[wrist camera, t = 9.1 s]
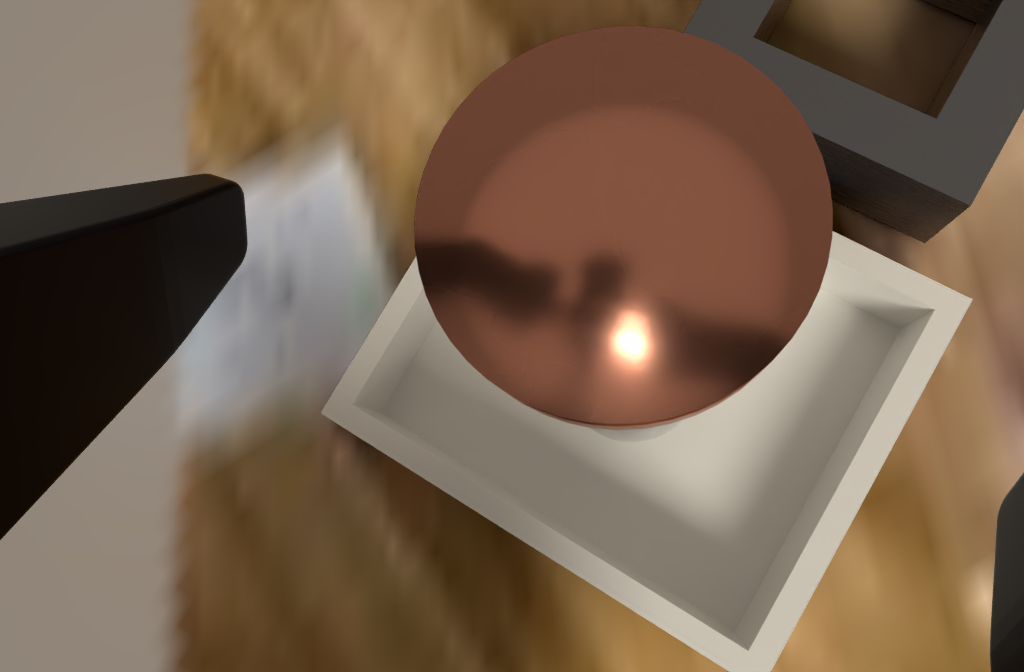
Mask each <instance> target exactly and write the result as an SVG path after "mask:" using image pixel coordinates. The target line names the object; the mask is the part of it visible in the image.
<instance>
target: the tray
mask: <svg viewBox="0 0 1024 672" xmlns="http://www.w3.org/2000/svg"><path fill="white" fill-rule="evenodd" d="M972 300H973V299H971V298H968V297H966V296H964V295H962V294H960V293H958V292H956V291H954V290H952V289H950V288H948V287H946V286H944V285H942V284H940V283H938V282H936V281H934V280H932V279H930V278H928V277H926V276H924V275H921V274H919V273H917V272H915V271H913V270H911V269H909V268H907V267H905V266H903V265H901V264H899V263H897V262H895V261H893V260H891V259H889V258H887V257H885V256H883V255H881V254H879V253H877V252H874V251H872V250H870V249H868V248H866V247H864V246H862V245H860V244H858V243H856V242H854V241H852V240H850V239H848V238H846V237H844V236H842V235H840V234H838V233H836V232H834V231H832V242H831V248H830V254H829V260H828V265H827V268H826V271H825V274H824V278H823V281H822V284H821V287H820V290H819V292H818V294H817V297H816V299H815V301H814V303H813V305H812V307H811V309H810V311H809V313H808V315H807V317H806V318H805V320H804V321H803V323H802V324H801V326H800V327H799V329H798V330H797V332H796V333H795V335H794V336H793V338H792V339H791V340H790V342H789V343H788V344H787V345H786V346H785V347H784V348H783V350H782V351H781V352H780V353H779V354H778V355H777V356H776V357H775V359H774V360H773V361H772V362H771V363H770V364H769V365H768V366H767V367H766V368H765V369H764V370H762V371H761V372H760V373H759V374H758V375H757V376H756V377H755V378H754V379H752V380H751V381H750V382H749V383H748V384H747V385H746V386H744V387H743V388H742V389H741V390H740V391H738V392H737V393H735V394H734V395H732V396H731V397H729V398H728V399H726V400H724V401H723V402H721V403H720V404H718V405H716V406H714V407H712V408H710V409H708V410H706V411H704V412H702V413H700V414H698V415H696V416H693V417H690V418H687V419H684V420H682V421H681V422H680V423H679V424H678V425H677V426H676V427H675V428H673V429H672V430H670V431H669V432H667V433H666V434H664V435H662V436H659V437H657V438H654V439H651V440H647V441H642V442H622V441H617V440H613V439H610V438H607V437H604V436H602V435H600V434H599V433H597V432H595V431H594V430H592V429H591V428H589V427H584V426H579V425H574V424H570V423H566V422H563V421H560V420H557V419H555V418H552V417H549V416H546V415H544V414H542V413H540V412H538V411H536V410H534V409H532V408H530V407H528V406H526V405H524V404H522V403H521V402H519V401H518V400H516V399H515V398H513V397H512V396H510V395H509V394H507V393H506V392H505V391H503V390H502V389H500V388H499V387H497V386H496V385H494V384H493V383H492V382H490V381H489V380H487V379H486V378H485V377H484V376H483V375H482V374H481V373H479V372H478V371H477V370H476V369H475V368H474V367H473V366H472V365H471V364H470V363H468V362H467V361H466V359H465V358H464V357H463V356H462V355H461V353H460V352H459V351H458V350H457V349H456V347H455V346H454V345H453V344H452V343H451V341H450V340H449V338H448V337H447V335H446V334H445V332H444V330H443V329H442V327H441V326H440V324H439V322H438V321H437V319H436V317H435V315H434V313H433V310H432V308H431V306H430V304H429V302H428V299H427V297H426V294H425V291H424V288H423V284H422V281H421V278H420V274H419V270H418V264H417V257H415V259H414V261H413V262H412V264H411V266H410V267H409V269H408V270H407V272H406V274H405V275H404V277H403V279H402V280H401V282H400V284H399V285H398V287H397V288H396V290H395V292H394V293H393V295H392V297H391V298H390V300H389V302H388V303H387V305H386V306H385V308H384V310H383V311H382V313H381V315H380V316H379V318H378V319H377V321H376V323H375V324H374V326H373V328H372V329H371V331H370V333H369V334H368V336H367V337H366V339H365V341H364V342H363V344H362V346H361V347H360V349H359V351H358V352H357V354H356V355H355V357H354V359H353V360H352V362H351V364H350V365H349V367H348V369H347V370H346V372H345V373H344V375H343V377H342V378H341V380H340V382H339V383H338V385H337V387H336V388H335V390H334V391H333V393H332V395H331V396H330V398H329V400H328V401H327V403H326V404H325V406H324V408H323V409H322V411H321V414H322V415H324V416H326V417H327V418H329V419H330V420H332V421H334V422H335V423H337V424H338V425H340V426H341V427H343V428H345V429H346V430H348V431H349V432H351V433H353V434H354V435H356V436H357V437H359V438H360V439H362V440H364V441H365V442H367V443H368V444H370V445H372V446H373V447H375V448H376V449H378V450H379V451H381V452H383V453H384V454H386V455H387V456H389V457H391V458H392V459H394V460H395V461H397V462H398V463H400V464H402V465H403V466H405V467H406V468H408V469H409V470H411V471H413V472H414V473H416V474H417V475H419V476H421V477H422V478H424V479H425V480H427V481H428V482H430V483H432V484H433V485H435V486H436V487H438V488H440V489H441V490H443V491H444V492H446V493H447V494H449V495H451V496H452V497H454V498H455V499H457V500H459V501H460V502H462V503H463V504H465V505H466V506H468V507H470V508H471V509H473V510H474V511H476V512H478V513H479V514H481V515H482V516H484V517H485V518H487V519H489V520H490V521H492V522H493V523H495V524H497V525H498V526H500V527H501V528H503V529H504V530H506V531H508V532H509V533H511V534H512V535H514V536H515V537H517V538H519V539H520V540H522V541H523V542H525V543H527V544H528V545H530V546H531V547H533V548H534V549H536V550H538V551H539V552H541V553H542V554H544V555H546V556H547V557H549V558H550V559H552V560H553V561H555V562H557V563H558V564H560V565H561V566H563V567H565V568H566V569H568V570H569V571H571V572H572V573H574V574H576V575H577V576H579V577H580V578H582V579H584V580H585V581H587V582H588V583H590V584H591V585H593V586H595V587H596V588H598V589H599V590H601V591H603V592H604V593H606V594H607V595H609V596H610V597H612V598H614V599H615V600H617V601H618V602H620V603H621V604H623V605H625V606H626V607H628V608H629V609H631V610H633V611H634V612H636V613H637V614H639V615H640V616H642V617H644V618H645V619H647V620H648V621H650V622H652V623H653V624H655V625H656V626H658V627H659V628H661V629H663V630H664V631H666V632H667V633H669V634H671V635H672V636H674V637H675V638H677V639H678V640H680V641H682V642H683V643H685V644H686V645H688V646H690V647H691V648H693V649H694V650H696V651H697V652H699V653H701V654H702V655H704V656H705V657H707V658H709V659H710V660H712V661H713V662H715V663H716V664H718V665H720V666H721V667H723V668H724V669H726V670H727V671H729V672H771V670H772V668H773V666H774V665H775V663H776V661H777V659H778V657H779V655H780V654H781V652H782V650H783V648H784V646H785V644H786V642H787V641H788V639H789V637H790V635H791V633H792V631H793V630H794V628H795V626H796V624H797V622H798V620H799V619H800V617H801V615H802V613H803V611H804V609H805V607H806V606H807V604H808V602H809V600H810V598H811V596H812V595H813V593H814V591H815V589H816V587H817V585H818V583H819V582H820V580H821V578H822V576H823V574H824V572H825V571H826V569H827V567H828V565H829V563H830V561H831V560H832V558H833V556H834V554H835V552H836V550H837V548H838V547H839V545H840V543H841V541H842V539H843V537H844V536H845V534H846V532H847V530H848V528H849V526H850V524H851V523H852V521H853V519H854V517H855V515H856V513H857V512H858V510H859V508H860V506H861V504H862V502H863V501H864V499H865V497H866V495H867V493H868V491H869V489H870V488H871V486H872V484H873V482H874V480H875V478H876V477H877V475H878V473H879V471H880V469H881V467H882V465H883V464H884V462H885V460H886V458H887V456H888V454H889V453H890V451H891V449H892V447H893V445H894V443H895V442H896V440H897V438H898V436H899V434H900V432H901V430H902V429H903V427H904V425H905V423H906V421H907V419H908V418H909V416H910V414H911V412H912V410H913V408H914V406H915V405H916V403H917V401H918V399H919V397H920V395H921V394H922V392H923V390H924V388H925V386H926V384H927V383H928V381H929V379H930V377H931V375H932V373H933V371H934V370H935V368H936V366H937V364H938V362H939V360H940V359H941V357H942V355H943V353H944V351H945V349H946V347H947V346H948V344H949V342H950V340H951V338H952V336H953V335H954V333H955V331H956V329H957V327H958V325H959V323H960V322H961V320H962V318H963V316H964V314H965V312H966V311H967V309H968V307H969V305H970V303H971V301H972Z"/></svg>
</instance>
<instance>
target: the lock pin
mask: <svg viewBox="0 0 1024 672" xmlns="http://www.w3.org/2000/svg"><path fill="white" fill-rule="evenodd" d="M414 227H415V251H416V257H417V264H418V270H419V274H420V278H421V281H422V284H423V288H424V291H425V294H426V297H427V299H428V302H429V304H430V306H431V308H432V310H433V313H434V315H435V317H436V319H437V321H438V322H439V324H440V326H441V327H442V329H443V330H444V332H445V334H446V335H447V337H448V338H449V340H450V341H451V343H452V344H453V345H454V346H455V347H456V349H457V350H458V351H459V352H460V353H461V355H462V356H463V357H464V358H465V359H466V361H467V362H468V363H470V364H471V365H472V366H473V367H474V368H475V369H476V370H477V371H478V372H479V373H481V374H482V375H483V376H484V377H485V378H486V379H487V380H489V381H490V382H492V383H493V384H494V385H496V386H497V387H499V388H500V389H502V390H503V391H505V392H506V393H507V394H509V395H510V396H512V397H513V398H515V399H516V400H518V401H519V402H521V403H522V404H524V405H526V406H528V407H530V408H532V409H534V410H536V411H538V412H540V413H542V414H544V415H546V416H549V417H552V418H555V419H557V420H560V421H563V422H566V423H570V424H574V425H579V426H584V427H589V428H591V429H592V430H594V431H595V432H597V433H599V434H600V435H602V436H604V437H607V438H610V439H613V440H617V441H622V442H642V441H647V440H651V439H654V438H657V437H659V436H662V435H664V434H666V433H667V432H669V431H670V430H672V429H673V428H675V427H676V426H677V425H678V424H679V423H680V422H681V421H682V420H684V419H687V418H690V417H693V416H696V415H698V414H700V413H702V412H704V411H706V410H708V409H710V408H712V407H714V406H716V405H718V404H720V403H721V402H723V401H724V400H726V399H728V398H729V397H731V396H732V395H734V394H735V393H737V392H738V391H740V390H741V389H742V388H743V387H744V386H746V385H747V384H748V383H749V382H750V381H751V380H752V379H754V378H755V377H756V376H757V375H758V374H759V373H760V372H761V371H762V370H764V369H765V368H766V367H767V366H768V365H769V364H770V363H771V362H772V361H773V360H774V359H775V357H776V356H777V355H778V354H779V353H780V352H781V351H782V350H783V348H784V347H785V346H786V345H787V344H788V343H789V342H790V340H791V339H792V338H793V336H794V335H795V333H796V332H797V330H798V329H799V327H800V326H801V324H802V323H803V321H804V320H805V318H806V317H807V315H808V313H809V311H810V309H811V307H812V305H813V303H814V301H815V299H816V297H817V294H818V292H819V290H820V287H821V284H822V281H823V278H824V274H825V271H826V268H827V265H828V260H829V254H830V248H831V242H832V231H833V206H832V198H831V190H830V182H829V179H828V175H827V171H826V168H825V164H824V160H823V157H822V154H821V152H820V150H819V148H818V145H817V143H816V141H815V138H814V136H813V134H812V132H811V130H810V128H809V127H808V125H807V124H806V122H805V120H804V119H803V117H802V115H801V114H800V112H799V111H798V109H797V108H796V107H795V106H794V104H793V103H792V102H791V101H790V99H789V98H788V97H787V96H786V95H785V93H784V92H783V91H782V90H781V89H780V88H779V87H778V86H777V85H776V84H775V83H774V82H773V81H772V80H770V79H769V78H768V77H767V76H766V75H765V74H764V73H763V72H762V71H760V70H759V69H757V68H756V67H755V66H753V65H752V64H750V63H749V62H748V61H746V60H745V59H743V58H742V57H740V56H739V55H737V54H735V53H733V52H731V51H729V50H727V49H725V48H723V47H721V46H720V45H718V44H715V43H712V42H710V41H707V40H704V39H702V38H699V37H696V36H694V35H690V34H686V33H682V32H677V31H673V30H669V29H662V28H653V27H645V26H614V27H606V28H598V29H590V30H585V31H581V32H577V33H573V34H569V35H565V36H562V37H559V38H557V39H554V40H551V41H549V42H546V43H543V44H541V45H538V46H537V47H535V48H533V49H531V50H529V51H527V52H525V53H523V54H521V55H519V56H517V57H516V58H514V59H513V60H511V61H510V62H508V63H507V64H505V65H504V66H502V67H501V68H499V69H498V70H496V71H495V72H494V73H493V74H491V75H490V76H489V77H488V78H487V79H486V80H484V81H483V82H482V83H481V84H480V85H479V86H477V87H476V88H475V89H474V91H473V92H472V93H471V94H470V95H469V96H468V97H467V98H466V99H465V100H464V101H463V103H462V104H461V105H460V106H459V107H458V108H457V110H456V111H455V113H454V114H453V115H452V117H451V118H450V120H449V121H448V123H447V124H446V125H445V127H444V128H443V130H442V132H441V134H440V136H439V138H438V140H437V141H436V143H435V145H434V147H433V149H432V151H431V154H430V156H429V159H428V162H427V164H426V167H425V169H424V172H423V175H422V179H421V184H420V188H419V192H418V196H417V203H416V212H415V221H414Z"/></svg>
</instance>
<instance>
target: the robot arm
mask: <svg viewBox="0 0 1024 672" xmlns="http://www.w3.org/2000/svg"><path fill="white" fill-rule="evenodd" d="M246 251H247V229H246V215H245V201H244V193H243V191H242V188H241V187H240V186H239V185H238V184H237V183H236V182H233V181H231V180H227V179H224V178H221V177H218V176H215V175H212V174H199V175H192V176H185V177H178V178H171V179H165V180H158V181H151V182H144V183H137V184H130V185H124V186H117V187H110V188H103V189H97V190H89V191H83V192H76V193H69V194H62V195H56V196H49V197H42V198H35V199H29V200H21V201H14V202H7V203H1V204H0V540H1V539H2V538H3V536H5V535H6V533H7V532H8V531H9V530H10V529H11V528H12V527H13V526H14V525H15V524H16V523H17V522H18V521H19V519H20V518H21V517H22V516H23V515H24V514H25V513H26V512H27V511H28V510H29V509H30V508H31V507H32V506H33V504H34V503H35V502H36V501H37V500H38V499H39V498H40V497H41V496H42V495H43V494H44V493H45V492H46V491H47V489H48V488H49V487H50V486H51V485H52V484H53V483H54V482H55V481H56V480H57V479H58V477H60V476H61V474H62V473H63V472H64V471H65V470H66V469H67V468H68V467H69V466H70V465H71V464H72V463H73V462H74V460H75V459H76V458H77V457H78V456H79V455H80V454H81V453H82V452H83V451H84V450H85V449H86V448H87V447H88V446H89V444H90V443H91V442H92V441H93V440H94V439H95V438H96V437H97V436H98V435H99V434H100V433H101V432H102V430H103V429H104V428H105V427H106V426H107V425H108V424H109V423H110V422H111V421H112V420H113V419H114V418H115V416H116V415H117V414H118V413H119V412H120V411H121V410H122V409H123V408H124V407H125V406H126V405H127V404H128V403H129V402H130V400H131V399H132V398H133V397H134V396H135V395H136V394H137V393H138V392H139V391H140V390H141V389H142V388H143V386H144V385H145V384H146V383H147V382H148V381H149V380H150V379H151V378H152V377H153V376H154V375H155V374H156V373H157V372H158V370H159V369H160V368H161V367H162V366H163V365H164V364H165V363H166V362H167V360H168V359H169V358H170V357H171V356H172V355H173V354H174V353H175V351H176V350H177V349H178V347H179V346H180V345H181V344H182V342H183V341H184V340H185V339H186V337H187V336H188V335H189V333H190V332H191V331H192V329H193V328H194V327H195V325H196V324H197V323H198V321H199V320H200V319H201V317H202V316H203V315H204V313H205V312H206V311H207V309H208V308H209V307H210V305H211V304H212V303H213V301H214V300H215V299H216V297H217V296H218V295H219V293H220V292H221V290H222V289H223V288H224V286H225V285H226V284H227V282H228V281H229V280H230V278H231V277H232V276H233V274H234V273H235V272H236V270H237V269H238V268H239V266H240V265H241V263H242V262H243V259H244V257H245V254H246ZM990 663H991V672H1024V473H1023V474H1022V476H1021V477H1020V478H1019V480H1018V481H1017V482H1016V483H1015V485H1014V486H1013V487H1012V489H1011V490H1010V491H1009V493H1008V494H1007V495H1006V497H1005V498H1004V500H1003V502H1002V504H1001V507H1000V510H999V513H998V518H997V532H996V549H995V566H994V583H993V599H992V616H991V636H990Z"/></svg>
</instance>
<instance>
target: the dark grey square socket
mask: <svg viewBox="0 0 1024 672" xmlns="http://www.w3.org/2000/svg"><path fill="white" fill-rule="evenodd" d="M791 1H792V0H703V1H702V2H701V4H700V6H699V7H698V9H697V11H696V12H695V14H694V16H693V17H692V19H691V21H690V22H689V24H688V26H687V28H686V29H685V31H684V33H686V34H690V35H694V36H696V37H699V38H702V39H704V40H707V41H710V42H712V43H715V44H718V45H720V46H721V47H723V48H725V49H727V50H729V51H731V52H733V53H735V54H737V55H739V56H740V57H742V58H743V59H745V60H746V61H748V62H749V63H750V64H752V65H753V66H755V67H756V68H757V69H759V70H760V71H762V72H763V73H764V74H765V75H766V76H767V77H768V78H769V79H770V80H772V81H773V82H774V83H775V84H776V85H777V86H778V87H779V88H780V89H781V90H782V91H783V92H784V93H785V95H786V96H787V97H788V98H789V99H790V101H791V102H792V103H793V104H794V106H795V107H796V108H797V109H798V111H799V112H800V114H801V115H802V117H803V119H804V120H805V122H806V124H807V125H808V127H809V128H810V130H811V132H812V134H813V136H814V138H815V141H816V143H817V145H818V148H819V150H820V152H821V154H822V157H823V160H824V164H825V168H826V171H827V175H828V179H829V182H830V190H831V198H832V199H834V200H836V201H838V202H840V203H842V204H844V205H846V206H849V207H851V208H853V209H855V210H857V211H859V212H861V213H863V214H865V215H867V216H869V217H871V218H874V219H876V220H878V221H880V222H882V223H884V224H886V225H888V226H890V227H892V228H894V229H896V230H898V231H901V232H903V233H905V234H907V235H909V236H911V237H913V238H915V239H917V240H919V241H921V242H923V243H926V242H927V241H928V240H929V239H930V238H932V237H933V236H934V235H935V234H937V233H938V232H939V231H940V230H941V229H943V228H944V227H945V226H946V225H948V224H949V223H950V222H951V221H953V220H954V219H955V218H956V217H957V216H959V215H960V214H961V213H962V212H964V211H965V210H966V209H967V208H968V207H970V206H971V204H972V202H973V200H974V199H975V197H976V195H977V193H978V191H979V190H980V188H981V186H982V184H983V182H984V180H985V179H986V177H987V175H988V173H989V171H990V169H991V168H992V166H993V164H994V162H995V160H996V159H997V157H998V155H999V153H1000V151H1001V149H1002V148H1003V146H1004V144H1005V142H1006V140H1007V139H1008V137H1009V135H1010V133H1011V131H1012V129H1013V128H1014V126H1015V124H1016V122H1017V120H1018V118H1019V117H1020V115H1021V113H1022V111H1023V109H1024V0H923V1H926V2H928V3H930V4H933V5H935V6H938V7H940V8H942V9H945V10H947V11H950V12H952V13H955V14H957V15H959V16H962V17H964V18H967V19H969V20H971V21H974V22H976V23H977V24H976V25H975V27H974V29H973V31H972V33H971V34H970V36H969V38H968V40H967V42H966V43H965V45H964V47H963V49H962V50H961V52H960V54H959V56H958V58H957V59H956V61H955V63H954V65H953V67H952V68H951V70H950V72H949V74H948V75H947V77H946V79H945V81H944V83H943V84H942V86H941V88H940V90H939V92H938V93H937V95H936V97H935V99H934V100H933V102H932V104H931V106H930V108H929V109H928V111H927V113H926V114H924V113H922V112H920V111H918V110H915V109H913V108H911V107H909V106H906V105H904V104H902V103H900V102H897V101H895V100H893V99H891V98H888V97H886V96H884V95H882V94H879V93H877V92H875V91H873V90H870V89H868V88H866V87H864V86H861V85H859V84H857V83H855V82H852V81H850V80H848V79H846V78H843V77H841V76H839V75H837V74H834V73H832V72H830V71H828V70H825V69H823V68H821V67H819V66H816V65H814V64H812V63H810V62H807V61H805V60H803V59H801V58H798V57H796V56H794V55H792V54H789V53H787V52H785V51H783V50H780V49H778V48H776V47H774V46H772V45H769V44H767V42H768V40H769V39H770V37H771V35H772V34H773V32H774V30H775V28H776V27H777V25H778V23H779V22H780V20H781V18H782V17H783V15H784V13H785V11H786V10H787V8H788V6H789V5H790V3H791Z"/></svg>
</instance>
